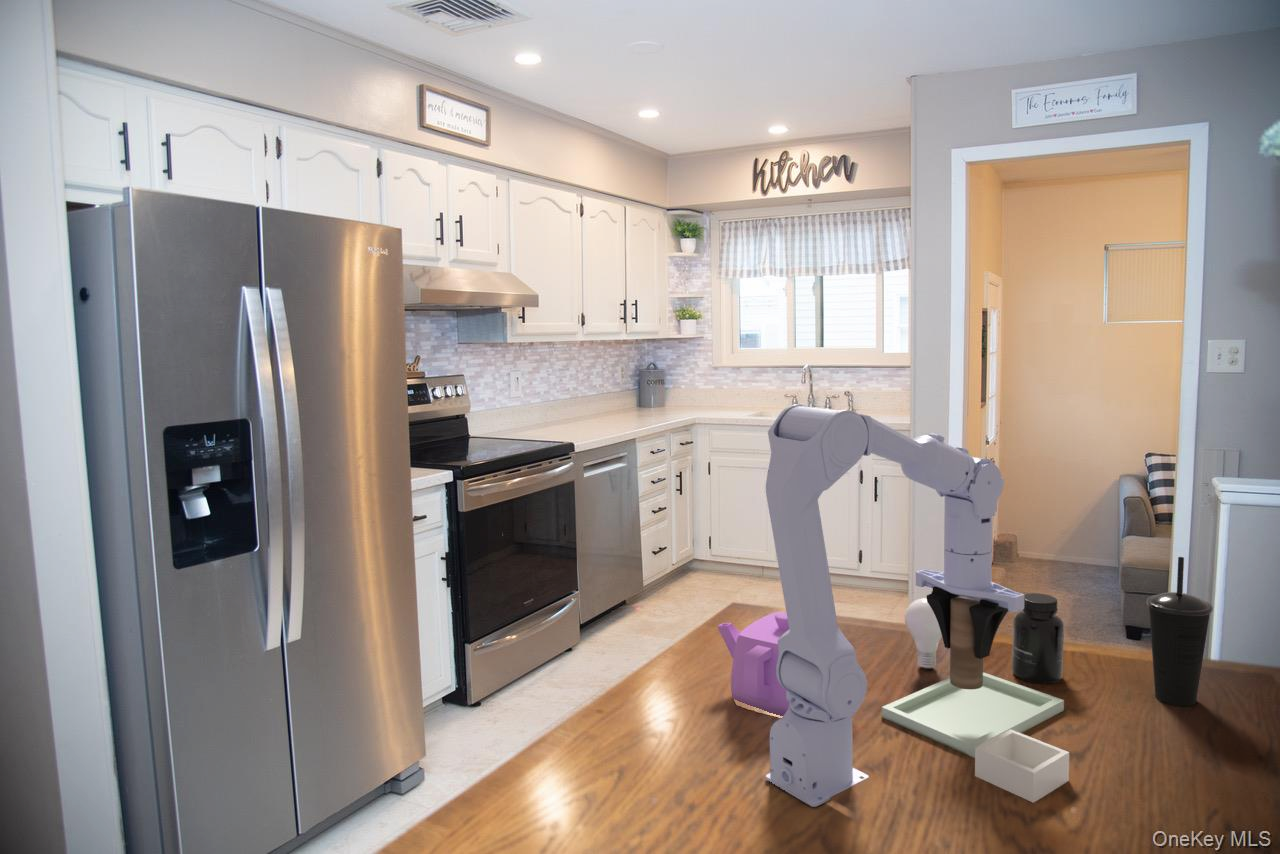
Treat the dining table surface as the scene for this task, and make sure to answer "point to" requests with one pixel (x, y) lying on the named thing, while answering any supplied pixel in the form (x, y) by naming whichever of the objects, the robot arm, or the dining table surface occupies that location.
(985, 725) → the tray
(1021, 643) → the supplement bottle
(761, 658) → the teakettle
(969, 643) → the walnut dowel
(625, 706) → the dining table surface
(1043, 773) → the square cup
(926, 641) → the lightbulb
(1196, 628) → the drinking cup
